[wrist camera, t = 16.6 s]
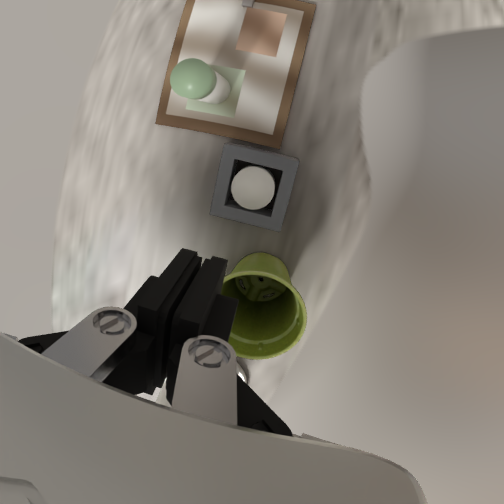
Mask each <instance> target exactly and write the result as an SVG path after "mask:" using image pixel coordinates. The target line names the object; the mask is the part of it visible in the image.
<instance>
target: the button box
mask: <svg viewBox="0 0 504 504" xmlns="http://www.w3.org/2000/svg"><path fill="white" fill-rule="evenodd" d="M238 160H242V161H246V162H250V163H254V164H258V165H262V166H266V167H270V168H274V169H278V170H282V175H281V179H280V183H279V186H278V190H277V194H276V198H275V202H274V206H273V209H272V210H270V209H267V208H260V209H255V210H252V209H247V208H244V207H242V206H240V205H239V204H238V203H237V202H236V201H235V200H231V199H229V197H230V192H231V185H232V181H233V179H234V174H235V170H236V166H237V161H238ZM298 165H299V159H297V158H293V157H290V156H286V155H282V154H278V153H274V152H270V151H266V150H262V149H258V148H253V147H249V146H245V145H240V144H236V143H231V142H228V143H224V148H223V152H222V157H221V161H220V166H219V171H218V175H217V180H216V185H215V190H214V195H213V200H212V205H211V210H210V215H214V216H218V217H222V218H226V219H230V220H234V221H238V222H242V223H246V224H250V225H254V226H258V227H262V228H266V229H269V230H273V231H277V232H280V231H281V227H282V224H283V220H284V217H285V213H286V209H287V206H288V202H289V198H290V195H291V191H292V187H293V184H294V180H295V176H296V173H297V169H298Z"/></svg>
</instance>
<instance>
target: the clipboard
mask: <svg viewBox="0 0 504 504" xmlns="http://www.w3.org/2000/svg"><path fill="white" fill-rule="evenodd" d="M315 8H316V5H314V4H310V3H306V2H302V1H297V0H187V1H186V4H185V7H184V10H183V14H182V17H181V20H180V23H179V27H178V30H177V34H176V37H175V41H174V45H173V48H172V52H171V56H170V60H169V64H168V68H167V72H166V76H165V80H164V85H163V89H162V94H161V98H160V103H159V108H158V113H157V118H156V123H155V124H159V125H165V126H171V127H177V128H183V129H189V130H194V131H200V132H205V133H210V134H215V135H220V136H225V137H230V138H234V139H239V140H243V141H248V142H252V143H256V144H260V145H265V146H269V147H273V148H277V149H280V146H281V142H282V138H283V134H284V131H285V127H286V123H287V119H288V115H289V111H290V107H291V103H292V99H293V95H294V91H295V87H296V83H297V79H298V75H299V71H300V67H301V63H302V60H303V56H304V52H305V48H306V44H307V40H308V36H309V32H310V28H311V24H312V20H313V16H314V12H315ZM189 58H196V59H200V60H202V61H203V62H205V63H206V64H208V65H209V66H210V67H211V68H212V69H213V70H215V71H216V72H217V73H219V74H220V75H221V76H222V77H224V78H225V79H226V80H227V81H228V82H229V85H230V94H229V96H228V98H227V99H226V100H225V101H223V102H222V103H219V104H209V103H206V102H202V101H199V100H193V99H189V98H185V97H182V96H179V95H178V94H176V93H175V92H174V91H173V89H172V87H171V84H170V75H171V72H172V70H173V68H174V67H175V66H176V65H177V64H178V63H179V62H181V61H183V60H185V59H189Z"/></svg>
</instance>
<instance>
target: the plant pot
mask: <svg viewBox="0 0 504 504" xmlns="http://www.w3.org/2000/svg"><path fill="white" fill-rule="evenodd" d="M260 277H262V278H263V281H259V278H260ZM240 280H242V282H243V285H244V287H245V288H246V289H243V288H242V287H241V285H240V282H239V281H240ZM271 293H274V295H272V296H270V297H266V298H265V297H263V296H264V295H268V294H271ZM220 295H224V296H228V297H232V298H235V299H239V302H238V306H237V310H236V314H235V318H234V322H233V325H232V329H231V333H230V337H229V341H228V344H230V345H231V346H232V347H233V349H234V350H235V353H236V356H238V357H242V358H246V359H256V360H257V359H269V358H273V357H276V356H278V355H281V354H283V353H285V352H287V351H288V350H290V349H291V348H292V347H293V346H295V345H296V343H297V342H298V341H299V340H300V339H301V337H302V335H303V333H304V331H305V328H306V323H307V312H306V307H305V304H304V301H303V299H302V297H301V296H300V294H299V292H298V291H297V290H296V289H295V288H294V287H293V286H292V284H291V281H290V277H289V274H288V271H287V268H286V266H285V265H284V263H283V262H282V261H281V260H280V259H278V258H276V257H274V256H272V255H270V254H267V253H253V254H250V255H248V256H246V257H244V258H243V259H242V260H241V261H240V262H239V263H238V264H237V266H236V267H235V268H234V270H233V271H232V272H231V273H230V274H229V275H227V276H225V277H224V281H223V285H222V290H221V294H220Z"/></svg>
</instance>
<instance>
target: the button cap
mask: <svg viewBox="0 0 504 504" xmlns="http://www.w3.org/2000/svg"><path fill="white" fill-rule="evenodd" d="M231 191H232V195H233V197H234V199H235V201H236V202H237V203H238V204H239V205H240V206H242V207H244V208H247V209H252V210H255V209H260V208H263V207H264V206H266V205H267V204H268V203H269V202H270V201H271V200H272V198H273V195H274V191H275V179H274V176H273V174H272V173H271V171H270V170H269V169H267V168H266V167H264V166H262V165H257V164H253V165H248V166H246V167H244V168H243V169H242V170H240V171H239V172H238V173H237V174H236V176H235V177H234V179H233V181H232V185H231Z"/></svg>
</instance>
